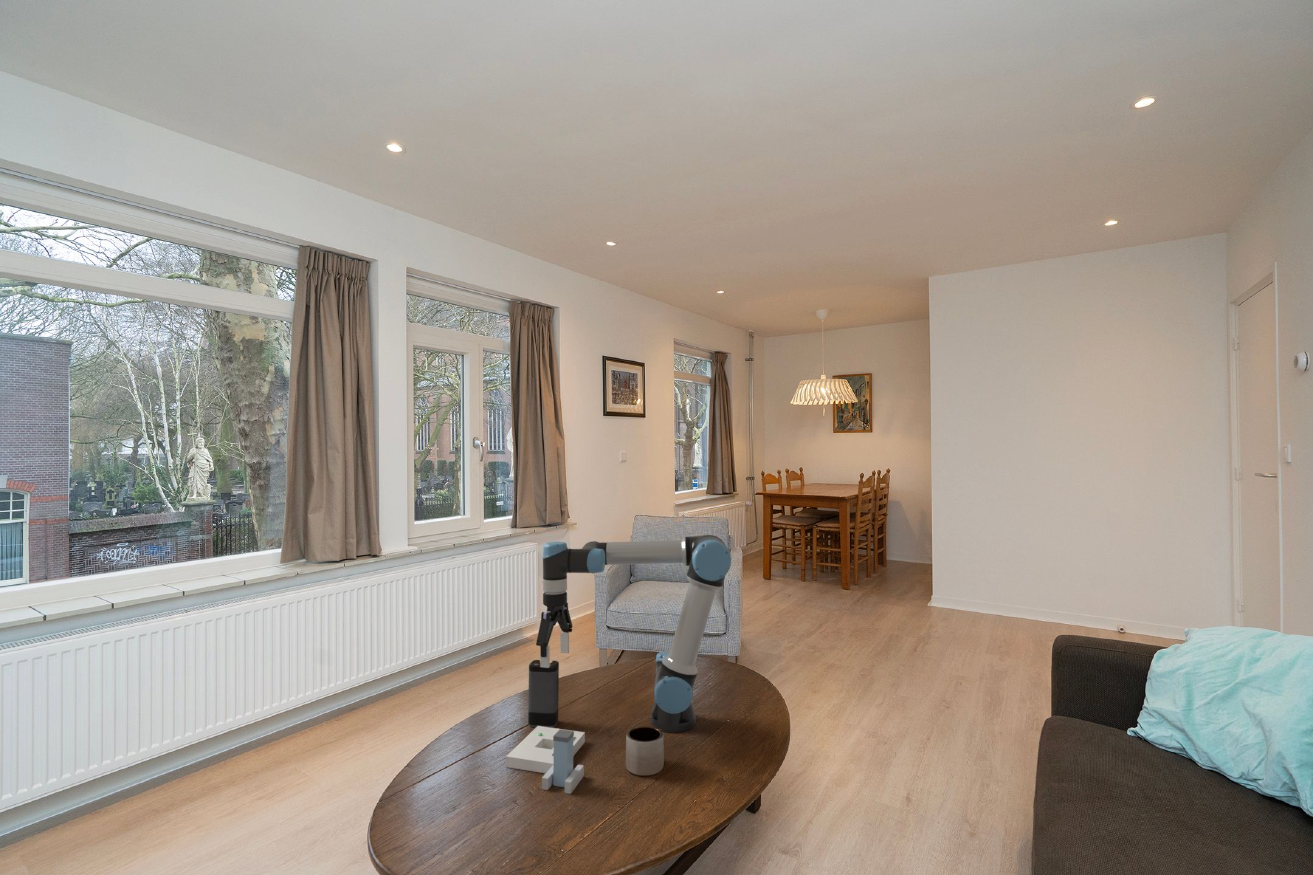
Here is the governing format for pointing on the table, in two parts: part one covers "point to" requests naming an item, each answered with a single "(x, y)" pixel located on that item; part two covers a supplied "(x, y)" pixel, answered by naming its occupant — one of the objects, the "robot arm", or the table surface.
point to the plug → (562, 757)
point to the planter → (644, 750)
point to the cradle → (570, 781)
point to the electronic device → (543, 694)
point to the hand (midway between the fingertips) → (555, 659)
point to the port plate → (539, 750)
